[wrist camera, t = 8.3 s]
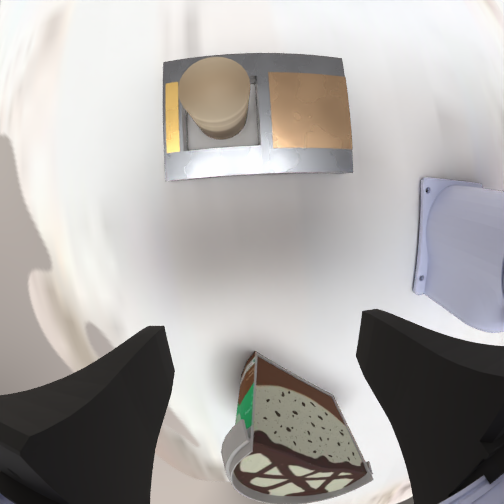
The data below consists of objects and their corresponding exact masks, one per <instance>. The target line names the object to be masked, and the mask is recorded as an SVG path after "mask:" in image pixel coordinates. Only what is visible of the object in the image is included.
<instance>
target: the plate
mask: <svg viewBox="0 0 504 504" xmlns="http://www.w3.org/2000/svg"><path fill="white" fill-rule="evenodd" d="M209 57H224V58H228V59H231V60H233V61H235V62H237V63H238V64H240V65H241V66H242V67H243V68H244V69H245V71H246V72H247V74H248V76H249V80H250V84H253V83H255V85H256V100H257V117H258V134H259V145H256V146H237V147H222V148H210V149H199V150H189V151H188V145H187V118H186V109H185V108H184V107H183V105H182V104H181V102H180V99H179V95H178V86H179V82H180V79H181V77H182V75H183V74H184V72H185V71H186V70H187V69H188V68H189V67H190V66H191V65H193V64H194V63H196V62H197V61H199V60H202V59H205V58H209ZM163 139H164V162H165V179H166V181H176V180H186V179H196V178H208V177H220V176H235V175H253V174H277V173H353V160H352V134H351V122H350V112H349V102H348V94H347V86H346V78H345V75H344V69H343V62H342V58H335V57H326V56H316V55H304V54H284V53H246V54H226V55H214V56H204V57H195V58H187V59H181V60H174V61H168V62H163Z"/></svg>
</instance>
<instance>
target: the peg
mask: <svg viewBox="0 0 504 504" xmlns="http://www.w3.org/2000/svg"><path fill="white" fill-rule="evenodd" d="M249 94H250V80H249V76H248V74H247V72H246V71H245V69H244V68H243V67H242V66H241V65H240V64H238V63H237V62H235V61H233V60H231V59H228V58H224V57H209V58H205V59H202V60H199V61H197V62H196V63H194V64H193V65H191V66H190V67H189V68H188V69H187V70H186V71H185V72H184V74H183V75H182V77H181V79H180V82H179V86H178V95H179V99H180V102H181V104H182V105H183V107H184V108H185V109H186V111H187V112H188V113H189V115H190V116H191V117H192V118H193V120H194V121H195V122H196V124H197V125H198V126H199V128H200V129H201V130H202V132H203V133H204V134H206V135H207V136H209V137H211V138H214V139H228V138H231V137H233V136H235V135H236V134H238V133H239V132H240V131H241V130H242V128H243V127H244V125H245V122H246V118H247V110H248V102H249Z"/></svg>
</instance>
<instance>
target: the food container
mask: <svg viewBox="0 0 504 504" xmlns="http://www.w3.org/2000/svg"><path fill="white" fill-rule="evenodd" d="M221 454H222V458H223V462H224V467H225V471H226V474H227V477H228V479H229V480H230V482H231V484H232V485H233V487H234V488H235V490H236V491H238V492H239V493H240V494H242V495H243V496H245V497H247V498H250V499H253V500H255V501H259V502H263V503H270V504H305V503H312V502H318V501H322V500H326V499H330V498H334V497H337V496H340V495H343V494H346V493H348V492H351V491H353V490H355V489H357V488H359V487H361V486H363V485H365V484H367V483H369V482H371V481H372V480H373V477H372V474H373V473H372V470H371V466H370V462H369V461H368V462H365V460H364V458H363V456H362V454H361V452H360V450H359V447H358V445H357V443H356V441H355V439H354V437H353V435H352V433H351V431H350V429H349V427H348V425H347V423H346V421H345V419H344V417H343V414H342V412H341V410H340V408H339V406H338V404H337V402H336V400H335V398H334V396H333V395H332V394H330V393H328V392H326V391H324V390H322V389H320V388H319V387H317V386H315V385H313V384H311V383H309V382H308V381H306V380H304V379H302V378H300V377H299V376H297V375H295V374H293V373H291V372H290V371H288V370H286V369H284V368H283V367H281V366H279V365H278V364H276V363H274V362H272V361H271V360H269V359H267V358H266V357H264V356H262V355H261V354H259V353H258V352H256V351H255V352H254V353H253V355H252V356H251V357H250V358H249V359H248V360H247V362H246V365H245V367H244V370H243V372H242V375H241V383H240V391H239V399H238V407H237V415H236V423H235V426H234V427H232V429H231V430H230V431H229V433H228V434H227V435H226V437H225V439H224V442H223V444H222V451H221Z"/></svg>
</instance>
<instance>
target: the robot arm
mask: <svg viewBox="0 0 504 504" xmlns="http://www.w3.org/2000/svg"><path fill="white" fill-rule="evenodd" d="M426 188H427V189H428V191H427V193H426ZM421 275H422V277H421V279H419V278H420V276H421ZM413 291H414V293H415V294H417V295H422V294H425V295H426V296H428V297H429V298H431V299H432V300H433V301H435V302H436V303H438V304H439V305H440V306H442V307H443V308H445V309H446V310H447V311H449V312H450V313H451V314H453V315H454V316H456V317H457V318H458V319H460V320H461V321H462V322H464V323H465V324H467V325H469V326H471V327H473V328H475V329H478V330H481V331H485V332H491V333H497V332H504V191H499V190H492V189H484V188H483V186H482V184H480V183H473V182H465V181H457V180H449V179H439V178H429V177H424V178H423V179H422V180H421V212H420V232H419V246H418V257H417V266H416V274H415V281H414V288H413ZM356 357H357V360H358V362H359V365H360V368H361V370H362V373H363V375H364V377H365V379H366V381H367V382H368V384H369V386H370V388H371V389H372V391H373V393H374V394H375V396H376V398H377V400H378V401H379V403H380V405H381V406H382V408H383V410H384V412H385V413H386V415H387V417H388V419H389V421H390V423H391V425H392V427H393V430H394V432H395V435H396V437H397V440H398V443H399V445H400V448H401V451H402V454H403V457H404V460H405V464H406V467H407V471H408V475H409V479H410V483H411V488H412V494H413V499H414V504H504V346H494V345H487V344H480V343H474V342H469V341H465V340H461V339H457V338H453V337H450V336H447V335H444V334H441V333H438V332H435V331H432V330H430V329H427V328H424V327H422V326H419V325H417V324H415V323H412V322H410V321H407V320H405V319H403V318H400V317H398V316H395V315H393V314H390V313H388V312H385V311H382V310H379V309H373V310H366V311H362V318H361V326H360V333H359V340H358V346H357V352H356ZM174 372H175V370H174V366H173V362H172V358H171V354H170V349H169V345H168V341H167V337H166V332H165V327H164V326H148V327H146V328H144V329H142V330H141V331H139V332H138V333H137V334H135V335H134V336H132V337H131V338H129V339H128V340H127V341H125V342H124V343H122V344H121V345H119V346H118V347H117V348H115V349H114V350H112V351H111V352H109V353H108V354H106V355H104V356H103V357H101V358H100V359H98V360H97V361H95V362H93V363H92V364H90V365H88V366H87V367H85V368H83V369H81V370H79V371H77V372H75V373H73V374H71V375H69V376H67V377H65V378H63V379H60V380H57V381H54V382H52V383H50V384H46V385H44V386H41V387H38V388H34V389H31V390H27V391H23V392H18V393H13V394H8V395H0V504H150V491H151V490H150V489H151V478H152V469H153V461H154V454H155V448H156V444H157V439H158V436H159V433H160V429H161V426H162V422H163V419H164V416H165V413H166V409H167V406H168V403H169V399H170V396H171V392H172V386H173V379H174Z"/></svg>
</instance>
